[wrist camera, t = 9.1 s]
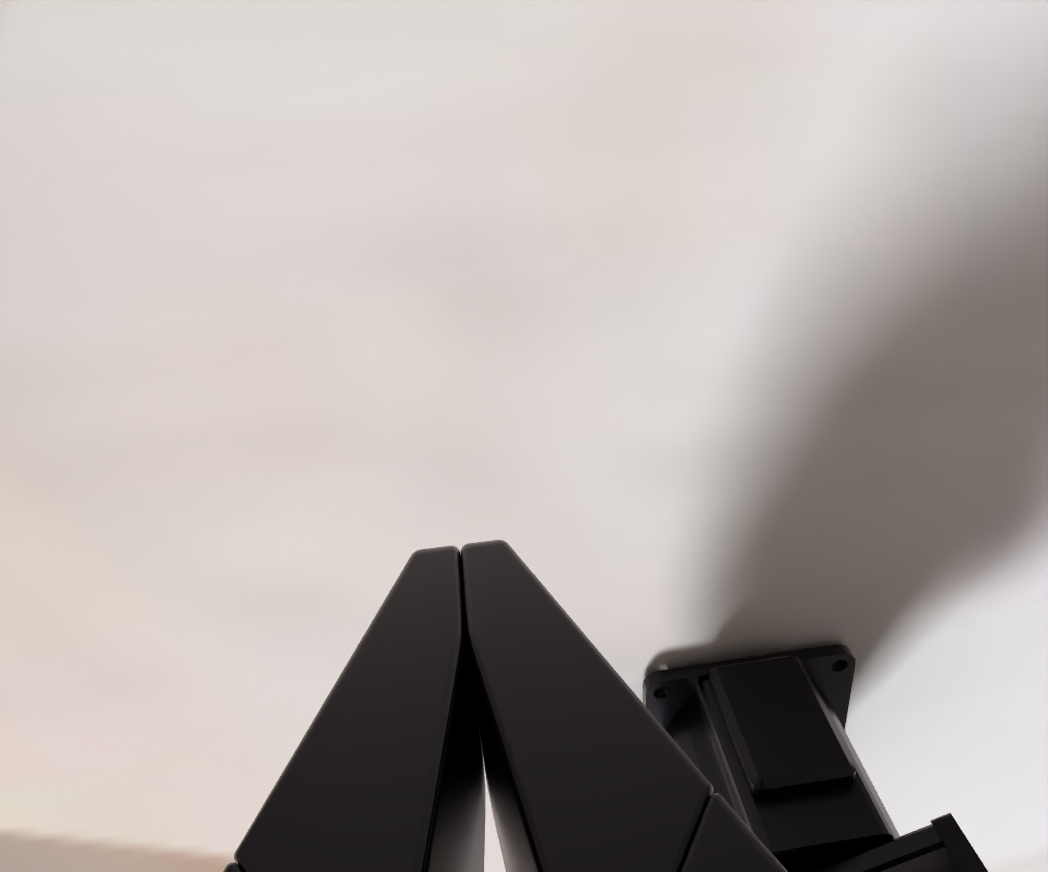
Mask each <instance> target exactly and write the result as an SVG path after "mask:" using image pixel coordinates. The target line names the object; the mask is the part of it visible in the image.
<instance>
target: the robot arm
mask: <svg viewBox="0 0 1048 872" xmlns="http://www.w3.org/2000/svg"><path fill="white" fill-rule="evenodd" d="M854 669H855V658H854V657H853V655H852V653H851V651H850V650H849V648H848V647H847V646H845V645H842V644H835V645H829V646H822V647H816V648H809V649H802V650H796V651H789V652H782V653H776V654H769V655H762V656H756V657H749V658H742V659H736V660H729V661H722V662H716V663H709V664H703V665H696V666H689V667H683V668H676V669H669V670H663V671H657V672H654V673H652V674H650V675H648V676H647V677H646V678H645V680H644V682H643V703H642V702H641V701H640V699H639V698H638V697H637V696H636V695H635V693H634V692H633V691H632V690H631V689H630V688H629V686H628V685H627V684H626V683H625V682H624V680H623V679H622V678H621V677H620V676H619V675H618V673H617V672H616V671H615V670H614V669H613V667H612V666H611V665H610V664H609V663H608V661H607V660H606V659H605V658H604V657H603V656H602V654H601V653H600V652H599V651H598V650H597V648H596V647H595V646H594V645H593V644H592V643H591V641H590V640H589V639H588V638H587V637H586V635H585V634H584V633H583V632H582V631H581V630H580V628H579V627H578V626H577V625H576V624H575V622H574V621H573V620H572V619H571V618H570V617H569V615H568V614H567V613H566V612H565V611H564V609H563V608H562V607H561V606H560V605H559V603H558V602H557V601H556V600H555V599H554V598H553V596H552V595H551V594H550V593H549V592H548V590H547V589H546V588H545V587H544V586H543V585H542V583H541V582H540V581H539V580H538V579H537V577H536V576H535V575H534V574H533V573H532V572H531V570H530V569H529V568H528V567H527V566H526V564H525V563H524V562H523V561H522V560H521V559H520V557H519V556H518V555H517V554H516V553H515V551H514V550H513V549H512V548H511V547H510V546H509V545H508V544H507V543H506V542H505V541H503V540H494V541H486V542H478V543H470V544H466V545H464V546H463V547H462V549H461V555H460V551H459V549H458V548H457V547H455V546H446V547H437V548H429V549H421V550H418V551H416V552H414V553H413V554H412V555H411V557H410V559H409V560H408V562H407V564H406V565H405V567H404V569H403V570H402V572H401V574H400V576H399V577H398V579H397V581H396V582H395V584H394V586H393V587H392V589H391V591H390V592H389V594H388V596H387V597H386V599H385V601H384V603H383V604H382V606H381V608H380V609H379V611H378V613H377V614H376V616H375V618H374V619H373V621H372V623H371V624H370V626H369V628H368V629H367V631H366V633H365V635H364V636H363V638H362V640H361V641H360V643H359V645H358V646H357V648H356V650H355V651H354V653H353V655H352V656H351V658H350V660H349V662H348V663H347V665H346V667H345V668H344V670H343V672H342V673H341V675H340V677H339V678H338V680H337V682H336V683H335V685H334V687H333V689H332V690H331V692H330V694H329V695H328V697H327V699H326V700H325V702H324V704H323V705H322V707H321V709H320V710H319V712H318V714H317V715H316V717H315V719H314V721H313V722H312V724H311V726H310V727H309V729H308V731H307V732H306V734H305V736H304V737H303V739H302V741H301V742H300V744H299V746H298V748H297V749H296V751H295V753H294V754H293V756H292V758H291V759H290V761H289V763H288V764H287V766H286V768H285V769H284V771H283V773H282V774H281V776H280V778H279V780H278V781H277V783H276V785H275V786H274V788H273V790H272V791H271V793H270V795H269V796H268V798H267V800H266V801H265V803H264V805H263V807H262V808H261V810H260V812H259V813H258V815H257V817H256V818H255V820H254V822H253V823H252V825H251V827H250V828H249V830H248V832H247V834H246V835H245V837H244V839H243V840H242V842H241V844H240V845H239V847H238V849H237V850H236V852H235V854H234V859H235V862H236V863H230V864H228V865H227V866H226V868H225V870H224V871H223V872H484V843H485V777H484V765H485V772H486V779H487V786H488V791H489V796H490V801H491V807H492V812H493V816H494V820H495V825H496V829H497V833H498V838H499V842H500V847H501V851H502V855H503V860H504V864H505V868H506V872H988V871H987V869H986V868H985V866H984V865H983V863H982V861H981V860H980V858H979V857H978V855H977V854H976V852H975V850H974V849H973V847H972V846H971V844H970V843H969V841H968V840H967V838H966V836H965V835H964V833H963V832H962V830H961V829H960V827H959V826H958V824H957V822H956V821H955V819H954V818H953V816H952V815H951V813H948V814H946V815H943V816H941V817H938V818H936V819H933V820H931V823H932V824H931V825H929V826H926V827H924V828H921V829H918V830H916V831H913V832H911V833H908V834H906V835H903V836H899V834H898V832H897V830H896V828H895V826H894V824H893V822H892V820H891V818H890V817H889V815H888V813H887V811H886V809H885V807H884V805H883V803H882V801H881V799H880V797H879V796H878V794H877V792H876V790H875V788H874V786H873V784H872V782H871V780H870V778H869V776H868V775H867V773H866V771H865V769H864V767H863V765H862V763H861V761H860V759H859V757H858V755H857V754H856V752H855V750H854V748H853V746H852V744H851V742H850V740H849V738H848V736H847V734H846V733H845V731H844V730H845V723H846V717H847V711H848V705H849V699H850V693H851V687H852V681H853V675H854ZM660 687H661V688H660ZM482 750H483V751H482ZM483 758H484V762H483Z"/></svg>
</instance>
